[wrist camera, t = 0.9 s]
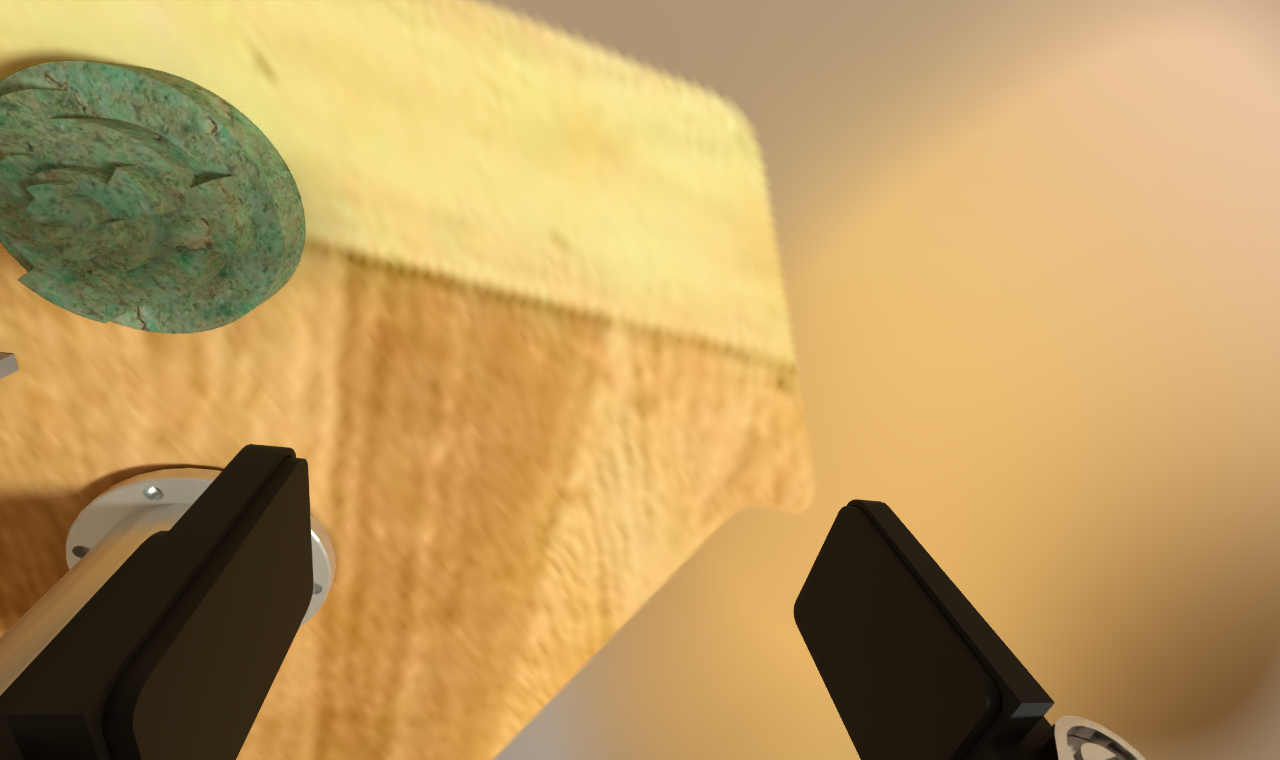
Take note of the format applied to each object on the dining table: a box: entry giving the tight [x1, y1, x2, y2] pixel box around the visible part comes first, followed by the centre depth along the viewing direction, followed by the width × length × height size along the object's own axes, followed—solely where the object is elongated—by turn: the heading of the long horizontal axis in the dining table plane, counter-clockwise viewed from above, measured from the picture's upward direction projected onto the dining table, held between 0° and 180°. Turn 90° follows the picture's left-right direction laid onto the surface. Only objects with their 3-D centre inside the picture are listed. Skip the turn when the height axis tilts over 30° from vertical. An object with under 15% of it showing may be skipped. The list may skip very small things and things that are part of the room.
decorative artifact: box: [0, 61, 305, 334], centre depth 20 cm, size 10×7×10 cm
